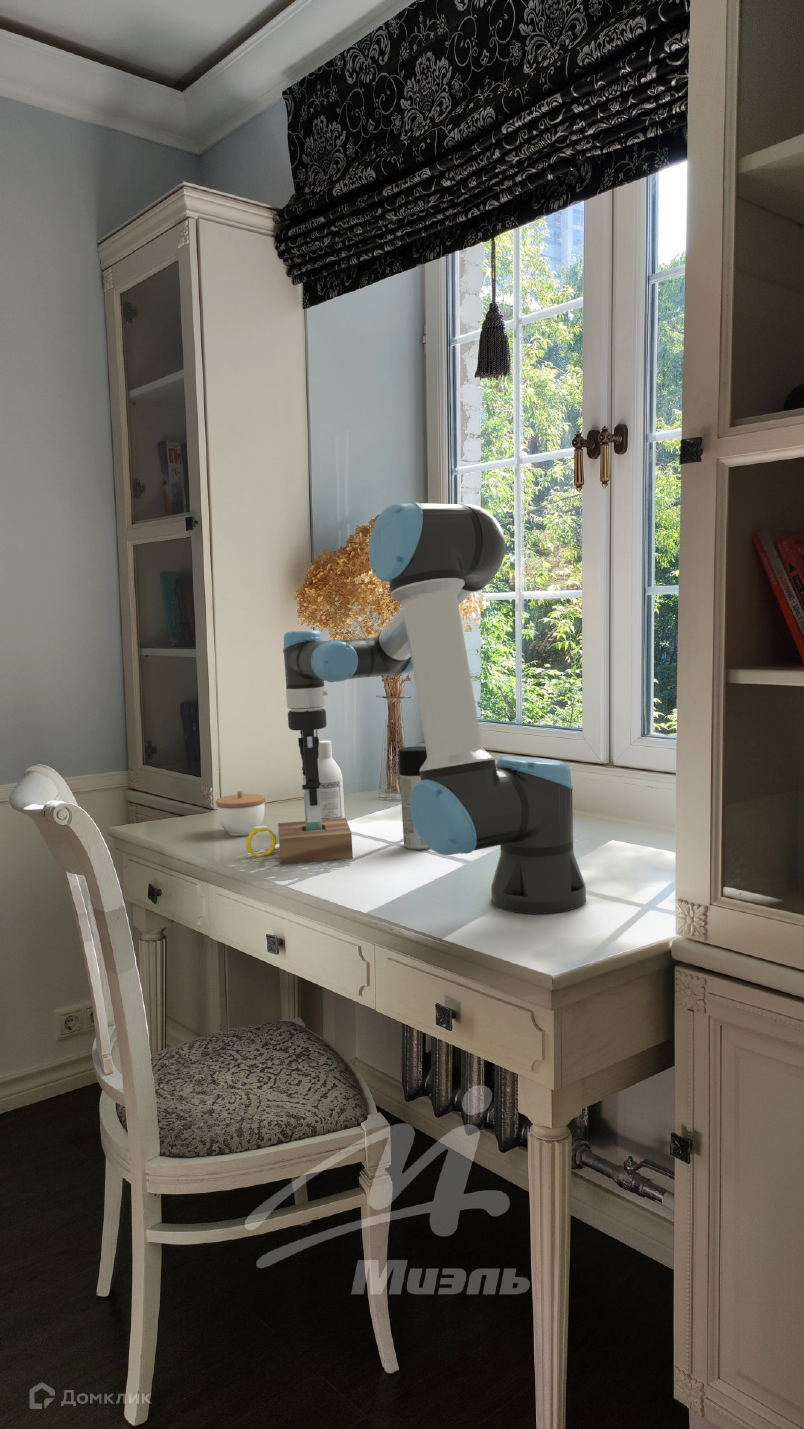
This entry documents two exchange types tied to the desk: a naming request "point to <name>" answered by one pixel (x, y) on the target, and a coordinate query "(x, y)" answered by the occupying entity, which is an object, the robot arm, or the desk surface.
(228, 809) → the lidded jar
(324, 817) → the bath foam
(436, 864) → the desk surface
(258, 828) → the watch
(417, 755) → the spray can
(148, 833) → the desk surface
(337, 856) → the socket
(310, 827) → the peg
